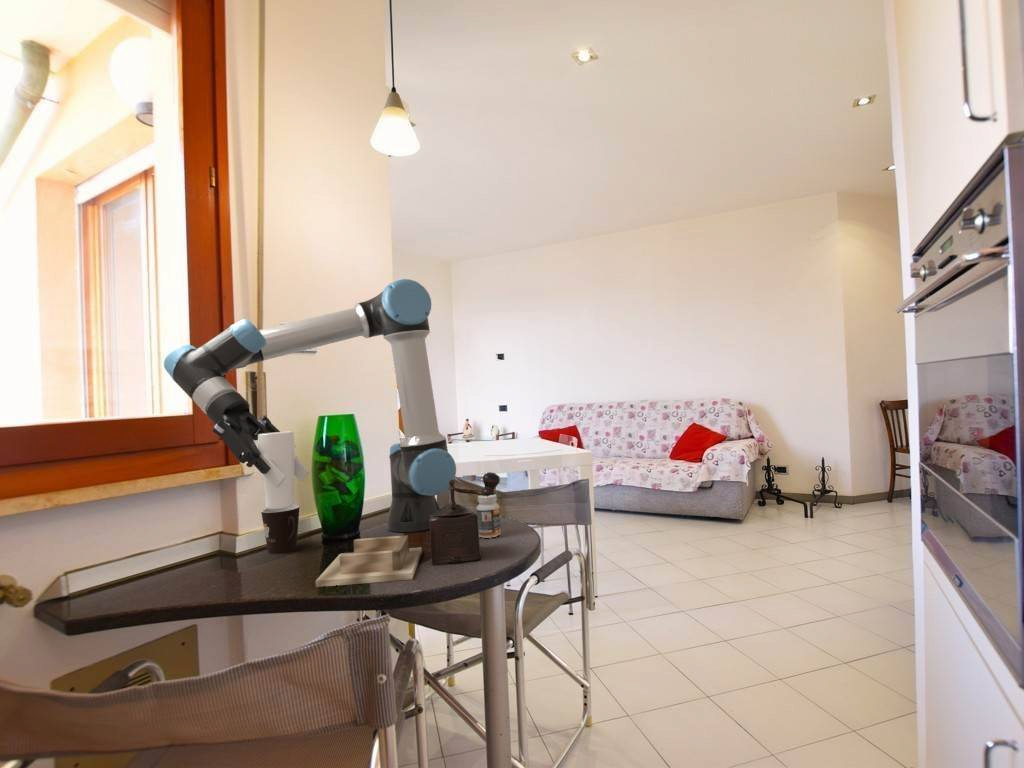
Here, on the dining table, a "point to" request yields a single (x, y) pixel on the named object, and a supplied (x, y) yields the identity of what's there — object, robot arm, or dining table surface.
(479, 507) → the pill bottle
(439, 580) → the dining table surface
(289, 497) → the drinking glass
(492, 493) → the manual coffee grinder
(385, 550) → the stand
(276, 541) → the coffee mug
